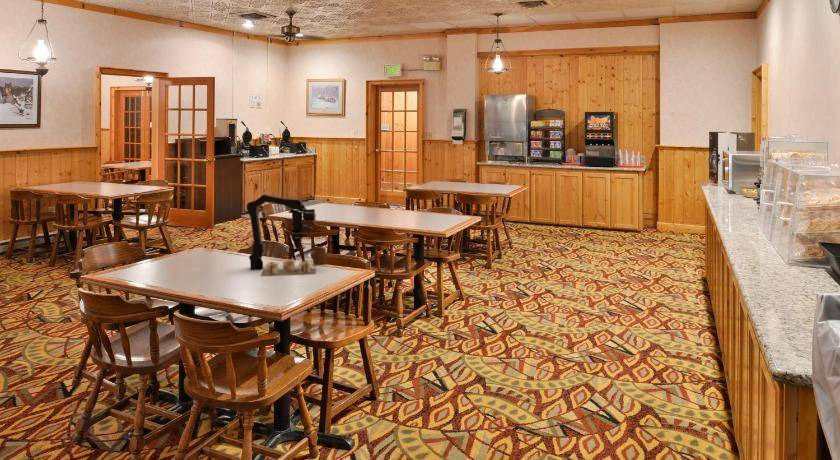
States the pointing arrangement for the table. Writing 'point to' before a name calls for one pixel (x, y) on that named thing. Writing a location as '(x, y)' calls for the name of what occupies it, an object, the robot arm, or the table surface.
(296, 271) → the mat
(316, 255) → the mug
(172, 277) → the table surface
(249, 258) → the robot arm
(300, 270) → the marked block right
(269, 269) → the marked block left
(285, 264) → the plain block
